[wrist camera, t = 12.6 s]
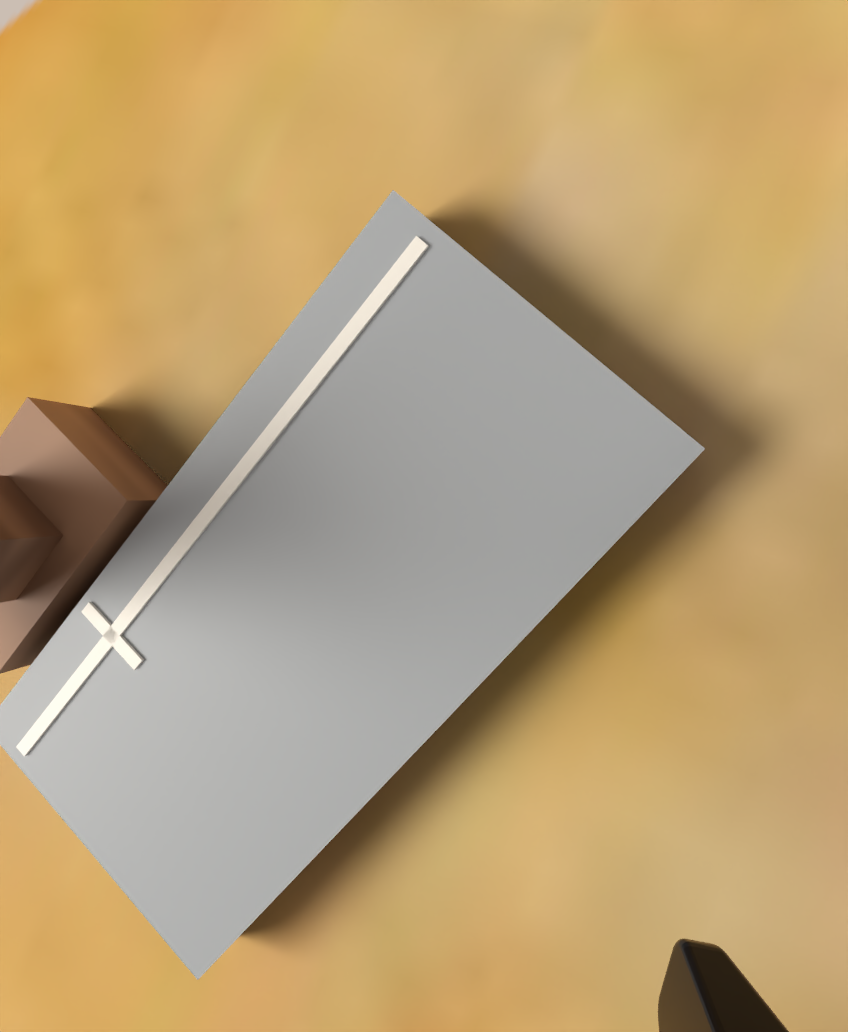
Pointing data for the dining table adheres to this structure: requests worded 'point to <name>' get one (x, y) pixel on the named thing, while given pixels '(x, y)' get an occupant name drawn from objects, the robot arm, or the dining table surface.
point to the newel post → (60, 517)
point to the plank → (330, 578)
